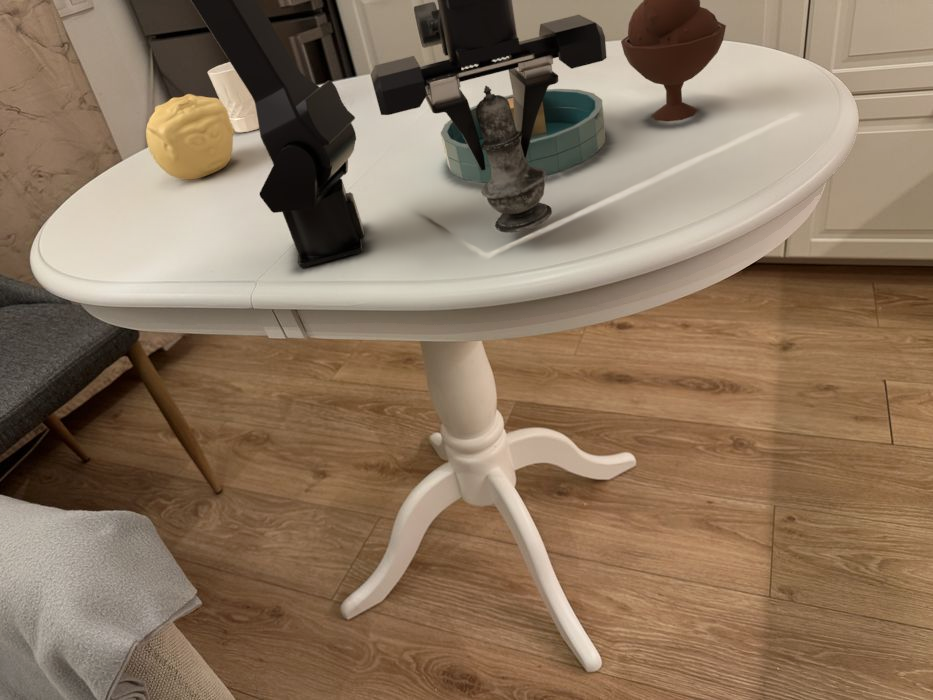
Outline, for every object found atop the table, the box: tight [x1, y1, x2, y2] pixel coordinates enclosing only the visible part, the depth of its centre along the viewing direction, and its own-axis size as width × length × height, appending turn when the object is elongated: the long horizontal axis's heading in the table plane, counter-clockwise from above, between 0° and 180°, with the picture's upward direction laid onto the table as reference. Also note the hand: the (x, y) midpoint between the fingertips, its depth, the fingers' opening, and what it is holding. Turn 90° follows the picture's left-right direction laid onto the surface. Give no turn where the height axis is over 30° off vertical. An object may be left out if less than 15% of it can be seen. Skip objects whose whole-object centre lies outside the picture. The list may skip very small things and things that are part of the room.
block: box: [507, 98, 547, 136], centre depth 85 cm, size 4×4×4 cm
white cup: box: [207, 61, 259, 133], centre depth 116 cm, size 8×8×10 cm
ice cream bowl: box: [620, 0, 727, 123], centre depth 77 cm, size 11×11×15 cm
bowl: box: [440, 88, 606, 184], centre depth 81 cm, size 19×19×4 cm
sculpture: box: [145, 93, 235, 180], centre depth 100 cm, size 12×12×11 cm
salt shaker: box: [476, 85, 553, 233], centre depth 59 cm, size 6×6×12 cm
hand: (502, 163), depth 61 cm, fingers closed on salt shaker, 3 cm apart
